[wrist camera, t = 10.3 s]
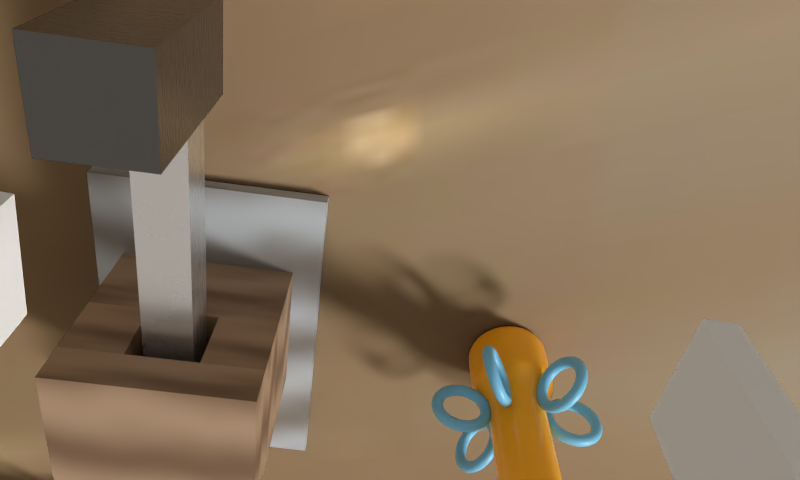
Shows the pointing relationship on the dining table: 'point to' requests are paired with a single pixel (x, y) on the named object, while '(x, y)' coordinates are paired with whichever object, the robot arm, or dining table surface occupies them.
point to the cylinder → (517, 406)
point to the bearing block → (223, 358)
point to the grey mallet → (136, 134)
